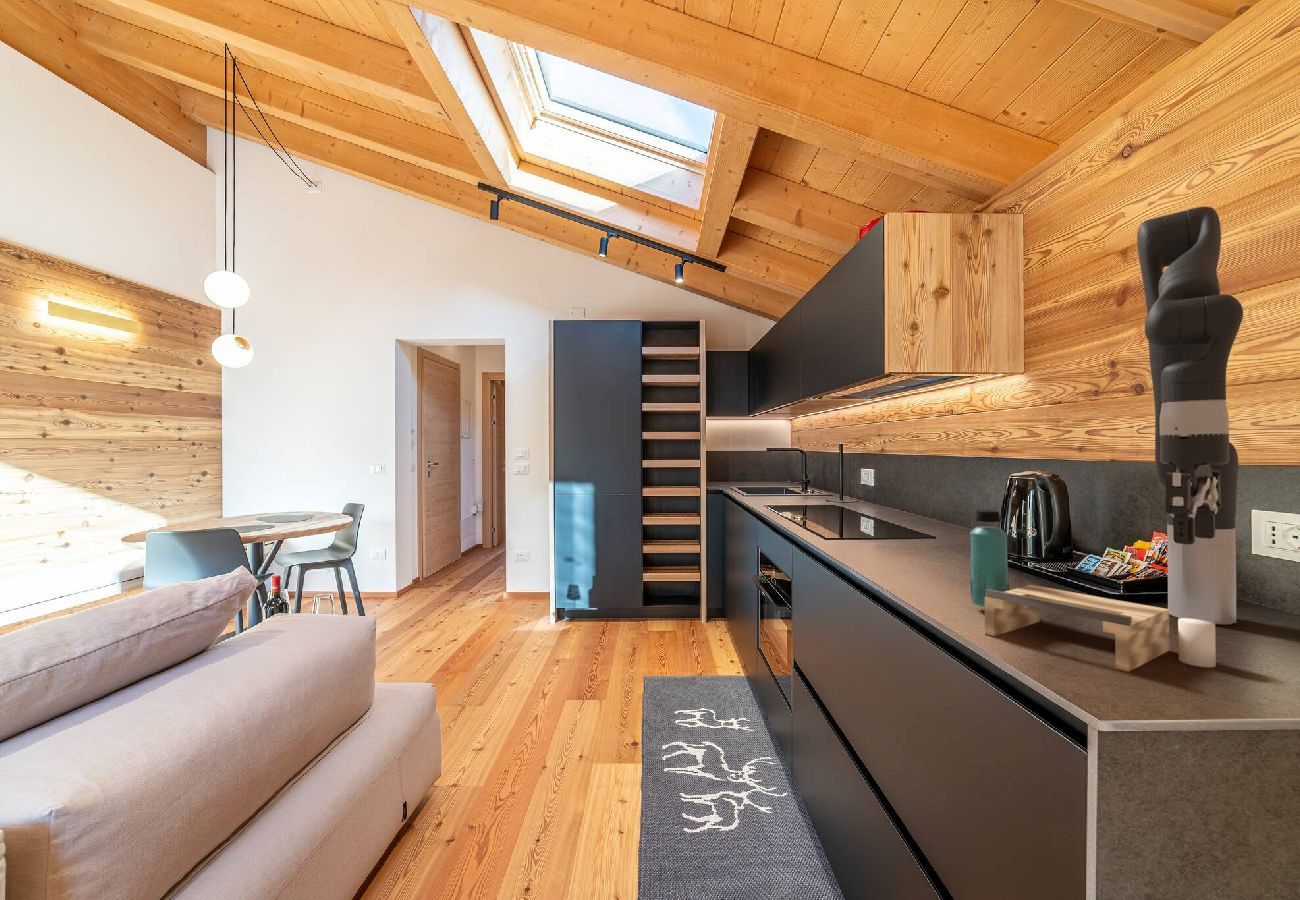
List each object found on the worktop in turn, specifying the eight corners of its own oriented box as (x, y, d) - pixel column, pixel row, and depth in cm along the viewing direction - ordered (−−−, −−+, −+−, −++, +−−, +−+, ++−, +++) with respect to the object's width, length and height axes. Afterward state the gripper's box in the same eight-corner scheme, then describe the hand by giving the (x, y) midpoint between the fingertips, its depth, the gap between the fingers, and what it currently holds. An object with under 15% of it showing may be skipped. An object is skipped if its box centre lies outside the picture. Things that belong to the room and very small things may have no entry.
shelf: (1030, 619, 107) (1030, 578, 107) (1169, 650, 90) (1168, 601, 90) (984, 634, 99) (984, 589, 99) (1128, 671, 82) (1127, 618, 82)
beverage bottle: (1015, 617, 109) (1014, 512, 109) (976, 615, 110) (975, 511, 110) (1001, 607, 115) (1000, 508, 115) (965, 606, 117) (964, 508, 117)
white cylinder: (1183, 655, 88) (1183, 616, 88) (1219, 663, 85) (1219, 623, 85) (1174, 660, 86) (1174, 621, 86) (1210, 669, 83) (1210, 627, 83)
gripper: (1178, 433, 92) (1179, 533, 92) (1142, 433, 85) (1143, 542, 85) (1243, 431, 86) (1244, 539, 86) (1210, 431, 79) (1212, 549, 79)
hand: (1194, 540), depth 85 cm, fingers open, 8 cm apart
